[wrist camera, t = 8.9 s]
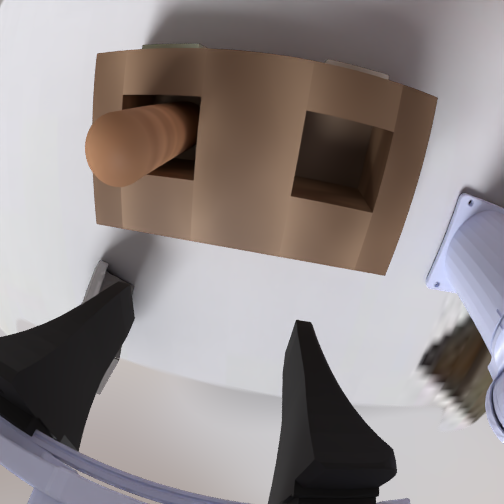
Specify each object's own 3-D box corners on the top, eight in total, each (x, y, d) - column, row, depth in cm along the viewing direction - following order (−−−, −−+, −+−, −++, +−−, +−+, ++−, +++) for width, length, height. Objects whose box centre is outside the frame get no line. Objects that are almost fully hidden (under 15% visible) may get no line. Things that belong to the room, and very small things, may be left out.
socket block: (404, 90, 15) (438, 92, 11) (367, 235, 20) (385, 275, 16) (139, 54, 16) (97, 48, 12) (132, 195, 21) (96, 223, 17)
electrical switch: (102, 254, 24) (49, 331, 16) (153, 284, 26) (115, 369, 18) (81, 313, 29) (44, 381, 21) (122, 337, 30) (93, 409, 22)
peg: (211, 104, 16) (153, 114, 9) (203, 151, 18) (147, 192, 11) (164, 98, 16) (86, 110, 10) (159, 144, 18) (85, 181, 11)
